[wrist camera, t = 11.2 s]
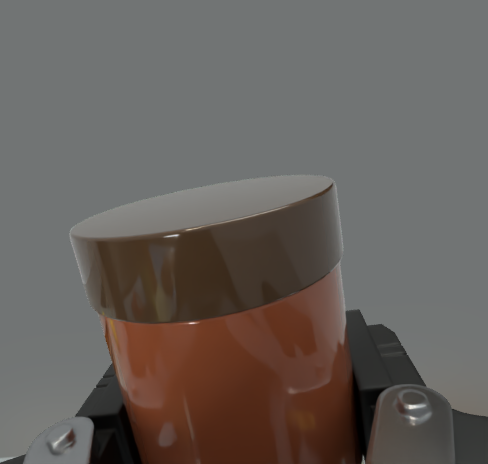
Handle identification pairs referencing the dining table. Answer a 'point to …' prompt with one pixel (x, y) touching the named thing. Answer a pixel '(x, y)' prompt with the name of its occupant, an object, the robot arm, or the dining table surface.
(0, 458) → the dining table surface
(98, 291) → the terracotta canister
